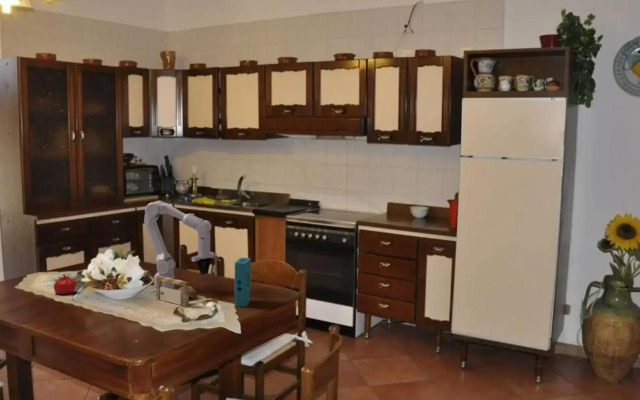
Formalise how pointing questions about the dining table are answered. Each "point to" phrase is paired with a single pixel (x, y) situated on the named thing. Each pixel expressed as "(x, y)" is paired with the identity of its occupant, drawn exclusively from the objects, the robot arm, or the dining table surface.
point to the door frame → (174, 281)
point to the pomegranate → (65, 285)
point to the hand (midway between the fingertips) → (204, 273)
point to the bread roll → (190, 293)
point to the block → (242, 281)
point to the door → (171, 295)
